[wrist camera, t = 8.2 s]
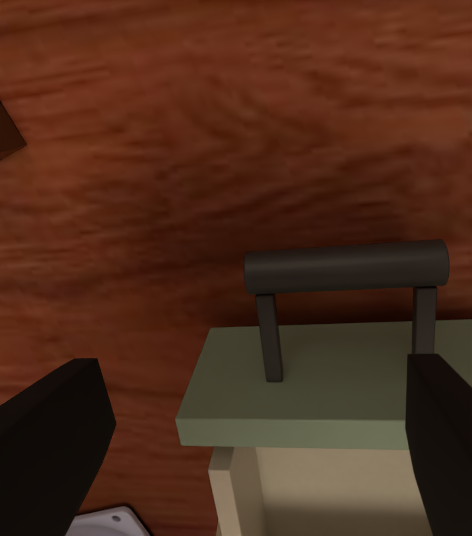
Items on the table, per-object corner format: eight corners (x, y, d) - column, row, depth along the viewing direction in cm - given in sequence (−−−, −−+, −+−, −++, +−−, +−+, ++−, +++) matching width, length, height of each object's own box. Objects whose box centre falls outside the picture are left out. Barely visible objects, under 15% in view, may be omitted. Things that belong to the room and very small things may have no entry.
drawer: (191, 223, 18) (143, 287, 13) (498, 198, 16) (587, 264, 11) (246, 532, 26) (229, 653, 20) (464, 544, 23) (507, 683, 18)
